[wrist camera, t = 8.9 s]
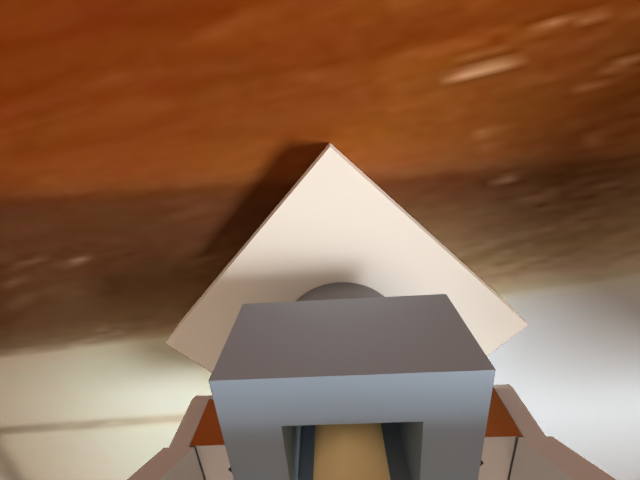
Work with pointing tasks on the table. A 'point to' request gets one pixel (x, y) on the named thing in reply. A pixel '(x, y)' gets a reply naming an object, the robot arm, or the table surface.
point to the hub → (340, 285)
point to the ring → (353, 385)
